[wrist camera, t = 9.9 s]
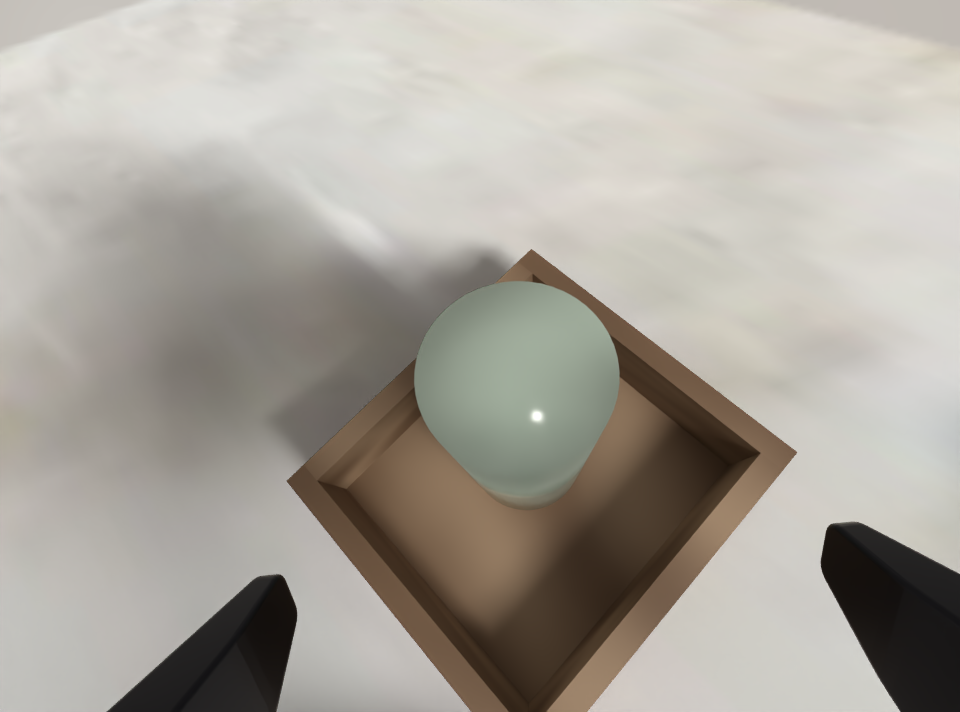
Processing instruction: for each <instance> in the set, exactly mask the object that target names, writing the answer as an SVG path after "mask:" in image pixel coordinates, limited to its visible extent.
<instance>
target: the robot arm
mask: <svg viewBox="0 0 960 712" xmlns="http://www.w3.org/2000/svg"><path fill="white" fill-rule="evenodd" d="M821 569H822V573H823V575H824V578H825V580H826V582H827V583H828V585H829V587H830V589H831V591H832V593H833V595H834V597H835V598H836V600H837V602H838V604H839V606H840V608H841V610H842V611H843V613H844V615H845V617H846V619H847V621H848V623H849V624H850V626H851V628H852V630H853V632H854V634H855V636H856V637H857V639H858V641H859V643H860V645H861V647H862V649H863V650H864V652H865V654H866V656H867V658H868V660H869V662H870V663H871V665H872V667H873V669H874V670H875V672H876V674H877V676H878V677H879V679H880V681H881V682H882V684H883V685H884V687H885V689H886V690H887V692H888V693H889V695H890V696H891V698H892V699H893V701H894V703H895V704H896V706H897V707H898V709H899V710H900V712H960V574H959V573H957V572H955V571H953V570H951V569H949V568H947V567H945V566H944V565H942V564H940V563H938V562H936V561H934V560H932V559H930V558H928V557H926V556H924V555H922V554H920V553H918V552H916V551H915V550H913V549H911V548H909V547H907V546H905V545H903V544H901V543H899V542H897V541H895V540H893V539H891V538H889V537H888V536H886V535H884V534H882V533H880V532H878V531H876V530H874V529H872V528H870V527H868V526H866V525H864V524H862V523H859V522H844V523H834V524H831V525H829V527H828V528H827V530H826V535H825V540H824V546H823V551H822V557H821ZM296 622H297V608H296V605H295V602H294V600H293V597H292V595H291V592H290V590H289V588H288V585H287V583H286V580H285V578H284V577H283V576H282V575H279V574H276V575H266V576H259V577H257V578H255V579H254V580H253V581H251V582H250V583H249V584H248V585H247V586H246V587H245V588H244V589H243V590H241V591H240V592H239V593H238V594H237V595H236V596H235V597H234V598H233V599H231V600H230V601H229V602H228V603H227V604H226V605H225V606H224V607H223V608H221V609H220V610H219V611H218V612H217V613H216V614H215V615H214V616H213V617H211V618H210V619H209V620H208V621H207V622H206V623H205V624H204V625H203V626H201V627H200V628H199V629H198V630H197V631H196V632H195V633H194V634H193V635H191V636H190V637H189V638H188V639H187V640H186V641H185V642H184V643H183V644H181V645H180V646H179V647H178V648H177V649H176V650H175V651H174V652H173V653H172V654H170V655H169V656H168V657H167V658H166V659H165V660H164V661H163V662H162V663H160V664H159V665H158V666H157V667H156V668H155V669H154V670H153V671H152V672H150V673H149V674H148V675H147V676H146V677H145V678H144V679H143V680H142V681H140V682H139V683H138V684H137V685H136V686H135V687H134V688H133V689H132V690H130V691H129V692H128V693H127V694H126V695H125V696H124V697H123V698H122V699H120V700H119V701H118V702H117V703H116V704H115V705H114V706H113V707H112V708H110V709H109V710H108V711H107V712H276V711H277V707H278V703H279V698H280V694H281V689H282V685H283V680H284V676H285V672H286V667H287V663H288V658H289V654H290V649H291V645H292V640H293V636H294V632H295V627H296Z"/></svg>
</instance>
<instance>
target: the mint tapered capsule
mask: <svg viewBox="0 0 960 712" xmlns="http://www.w3.org/2000/svg"><path fill="white" fill-rule="evenodd" d="M414 386H415V395H416V399H417V403H418V407H419V410H420V412H421V415H422V417H423V420H424V421H425V423H426V425H427V427H428V428H429V430H430V432H431V433H432V434H433V435H434V437H435V438H436V439H437V440H438V442H439V443H440V444H441V445H442V446H443V447H444V448H445V449H446V450H447V451H448V452H449V453H450V454H451V456H452V457H453V458H454V459H455V460H456V461H457V462H458V463H459V464H460V465H461V466H462V467H463V468H464V469H465V470H466V471H467V472H468V474H469V475H470V476H471V477H472V478H473V479H474V480H475V481H476V482H477V483H478V484H479V485H480V486H481V487H482V488H483V489H484V491H485V492H486V493H487V494H488V495H489V496H491V497H492V498H493V499H494V500H496V501H497V502H499V503H501V504H503V505H505V506H507V507H510V508H514V509H518V510H535V509H540V508H544V507H547V506H549V505H551V504H553V503H555V502H556V501H558V500H559V499H560V498H562V497H563V496H564V495H565V494H566V493H567V492H568V490H569V489H570V488H571V486H572V485H573V483H574V482H575V480H576V478H577V476H578V475H579V473H580V471H581V469H582V467H583V466H584V464H585V462H586V460H587V459H588V457H589V455H590V453H591V451H592V450H593V448H594V446H595V444H596V443H597V441H598V439H599V437H600V435H601V434H602V432H603V430H604V428H605V427H606V425H607V423H608V421H609V419H610V417H611V415H612V412H613V410H614V407H615V404H616V400H617V397H618V390H619V364H618V357H617V354H616V350H615V347H614V344H613V342H612V340H611V337H610V335H609V333H608V332H607V330H606V328H605V327H604V325H603V323H602V322H601V321H600V320H599V319H598V317H597V316H596V315H595V314H594V313H593V312H592V311H591V310H590V309H589V308H588V307H587V306H586V305H585V304H583V303H582V302H581V301H579V300H578V299H576V298H575V297H573V296H571V295H570V294H568V293H566V292H564V291H562V290H559V289H557V288H554V287H552V286H548V285H544V284H541V283H534V282H526V281H511V282H501V283H496V284H491V285H488V286H485V287H482V288H479V289H477V290H474V291H472V292H470V293H468V294H466V295H464V296H463V297H461V298H459V299H458V300H456V301H455V302H454V303H452V304H451V305H450V306H449V307H447V308H446V309H445V310H444V311H443V312H442V313H441V314H440V315H439V316H438V318H437V319H436V320H435V321H434V323H433V324H432V325H431V327H430V328H429V330H428V332H427V333H426V335H425V337H424V339H423V341H422V344H421V346H420V349H419V352H418V355H417V359H416V365H415V372H414Z"/></svg>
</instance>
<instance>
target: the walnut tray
mask: <svg viewBox="0 0 960 712" xmlns="http://www.w3.org/2000/svg"><path fill="white" fill-rule="evenodd" d="M511 281H526V282H534V283H541V284H544V285H548V286H552V287H554V288H557V289H559V290H562V291H564V292H566V293H568V294H570V295H571V296H573V297H575V298H576V299H578V300H579V301H581V302H582V303H583V304H585V305H586V306H587V307H588V308H589V309H590V310H591V311H592V312H593V313H594V314H595V315H596V316H597V317H598V319H599V320H600V321H601V322H602V323H603V325H604V327H605V328H606V330H607V332H608V333H609V335H610V337H611V340H612V342H613V344H614V347H615V350H616V354H617V357H618V364H619V390H618V397H617V400H616V404H615V407H614V410H613V412H612V415H611V417H610V419H609V421H608V423H607V425H606V427H605V428H604V430H603V432H602V434H601V435H600V437H599V439H598V441H597V443H596V444H595V446H594V448H593V450H592V451H591V453H590V455H589V457H588V459H587V460H586V462H585V464H584V466H583V467H582V469H581V471H580V473H579V475H578V476H577V478H576V480H575V482H574V483H573V485H572V486H571V488H570V489H569V490H568V492H567V493H566V494H565V495H564V496H563V497H562V498H560V499H559V500H558V501H556V502H555V503H553V504H551V505H549V506H547V507H544V508H540V509H535V510H518V509H514V508H510V507H507V506H505V505H503V504H501V503H499V502H497V501H496V500H494V499H493V498H492V497H491V496H489V495H488V494H487V493H486V492H485V491H484V489H483V488H482V487H481V486H480V485H479V484H478V483H477V482H476V481H475V480H474V479H473V478H472V477H471V476H470V475H469V474H468V472H467V471H466V470H465V469H464V468H463V467H462V466H461V465H460V464H459V463H458V462H457V461H456V460H455V459H454V458H453V457H452V456H451V454H450V453H449V452H448V451H447V450H446V449H445V448H444V447H443V446H442V445H441V444H440V443H439V442H438V440H437V439H436V438H435V437H434V435H433V434H432V433H431V432H430V430H429V428H428V427H427V425H426V423H425V421H424V420H423V417H422V415H421V412H420V410H419V407H418V403H417V399H416V395H415V386H414V372H415V365H416V359H417V358H416V359H415V360H414V361H413V362H412V363H411V364H410V365H408V366H407V367H406V368H405V369H404V370H403V371H402V372H401V373H400V374H399V375H398V376H397V377H396V378H395V379H394V380H393V381H392V382H391V383H389V384H388V385H387V386H386V387H385V388H384V389H383V390H382V391H381V392H380V393H379V394H378V395H377V396H376V397H375V398H374V399H373V400H372V401H370V402H369V403H368V404H367V405H366V406H365V407H364V408H363V409H362V410H361V411H360V412H359V413H358V414H357V415H356V416H355V417H354V418H353V419H351V420H350V421H349V422H348V423H347V424H346V425H345V426H344V427H343V428H342V429H341V430H340V431H339V432H338V433H337V434H336V435H335V436H334V437H332V438H331V439H330V440H329V441H328V442H327V443H326V444H325V445H324V446H323V447H322V448H321V449H320V450H319V451H318V452H317V453H316V454H315V455H313V456H312V457H311V458H310V459H309V460H308V461H307V462H306V463H305V464H304V465H303V466H302V467H301V468H300V469H299V470H298V471H297V472H296V473H294V474H293V475H292V476H291V477H290V478H289V479H288V480H287V482H288V484H289V485H290V486H291V487H292V489H293V490H294V491H295V492H296V494H297V495H298V496H299V497H300V498H301V500H302V501H303V502H304V503H305V505H306V506H307V507H308V508H309V510H310V511H311V512H312V513H313V515H314V516H315V517H316V518H317V520H318V521H319V522H320V523H321V525H322V526H323V527H324V528H325V530H326V531H327V532H328V533H329V535H330V536H331V537H332V538H333V540H334V541H335V542H336V543H337V545H338V546H339V547H340V548H341V550H342V551H343V552H344V553H345V555H346V556H347V557H348V558H349V560H350V561H351V562H352V563H353V565H354V566H355V567H356V568H357V570H358V571H359V572H360V573H361V575H362V576H363V577H364V578H365V580H366V581H367V582H368V583H369V585H370V586H371V587H372V588H373V590H374V591H375V592H376V593H377V595H378V596H379V597H380V598H381V599H382V601H383V602H384V603H385V604H386V606H387V607H388V608H389V609H390V611H391V612H392V613H393V614H394V616H395V617H396V618H397V619H398V621H399V622H400V623H401V624H402V626H403V627H404V628H405V629H406V631H407V632H408V633H409V634H410V636H411V637H412V638H413V639H414V641H415V642H416V643H417V644H418V646H419V647H420V648H421V649H422V651H423V652H424V653H425V654H426V656H427V657H428V658H429V659H430V661H431V662H432V663H433V664H434V666H435V667H436V668H437V669H438V671H439V672H440V673H441V674H442V676H443V677H444V678H445V679H446V681H447V682H448V683H449V684H450V686H451V687H452V688H453V689H454V691H455V692H456V693H457V694H458V696H459V697H460V698H461V699H462V701H463V702H464V703H465V704H466V705H467V707H468V708H469V709H470V710H471V712H587V711H588V710H589V709H590V708H591V706H592V705H593V704H594V703H595V701H596V700H597V699H598V698H599V696H600V695H601V694H602V693H603V692H604V690H605V689H606V688H607V687H608V685H609V684H610V683H611V682H612V680H613V679H614V678H615V677H616V675H617V674H618V673H619V672H620V671H621V669H622V668H623V667H624V666H625V664H626V663H627V662H628V661H629V659H630V658H631V657H632V656H633V655H634V653H635V652H636V651H637V650H638V648H639V647H640V646H641V645H642V643H643V642H644V641H645V640H646V638H647V637H648V636H649V635H650V634H651V632H652V631H653V630H654V629H655V627H656V626H657V625H658V624H659V622H660V621H661V620H662V619H663V618H664V616H665V615H666V614H667V613H668V611H669V610H670V609H671V608H672V606H673V605H674V604H675V603H676V601H677V600H678V599H679V598H680V597H681V595H682V594H683V593H684V592H685V590H686V589H687V588H688V587H689V585H690V584H691V583H692V582H693V581H694V579H695V578H696V577H697V576H698V574H699V573H700V572H701V571H702V569H703V568H704V567H705V566H706V564H707V563H708V562H709V561H710V560H711V558H712V557H713V556H714V555H715V553H716V552H717V551H718V550H719V548H720V547H721V546H722V545H723V544H724V542H725V541H726V540H727V539H728V537H729V536H730V535H731V534H732V532H733V531H734V530H735V529H736V527H737V526H738V525H739V524H740V523H741V521H742V520H743V519H744V518H745V516H746V515H747V514H748V513H749V511H750V510H751V509H752V508H753V507H754V505H755V504H756V503H757V502H758V500H759V499H760V498H761V497H762V495H763V494H764V493H765V492H766V490H767V489H768V488H769V487H770V486H771V484H772V483H773V482H774V481H775V479H776V478H777V477H778V476H779V474H780V473H781V472H782V471H783V470H784V468H785V467H786V466H787V465H788V463H789V462H790V461H791V460H792V458H793V457H794V456H795V455H796V453H797V452H796V451H795V450H794V449H792V448H791V447H790V446H788V445H787V444H786V443H784V442H783V441H782V440H780V439H779V438H778V437H777V436H775V435H774V434H773V433H771V432H770V431H769V430H767V429H766V428H765V427H763V426H762V425H761V424H760V423H758V422H757V421H756V420H754V419H753V418H752V417H750V416H749V415H748V414H746V413H745V412H744V411H743V410H741V409H740V408H739V407H737V406H736V405H735V404H733V403H732V402H731V401H729V400H728V399H727V398H726V397H724V396H723V395H722V394H720V393H719V392H718V391H716V390H715V389H714V388H712V387H711V386H710V385H709V384H707V383H706V382H705V381H703V380H702V379H701V378H699V377H698V376H697V375H695V374H694V373H693V372H692V371H690V370H689V369H688V368H686V367H685V366H684V365H682V364H681V363H680V362H678V361H677V360H676V359H675V358H673V357H672V356H671V355H669V354H668V353H667V352H665V351H664V350H663V349H661V348H660V347H659V346H658V345H656V344H655V343H654V342H652V341H651V340H650V339H648V338H647V337H646V336H644V335H643V334H642V333H641V332H639V331H638V330H637V329H635V328H634V327H633V326H631V325H630V324H629V323H627V322H626V321H625V320H624V319H622V318H621V317H620V316H618V315H617V314H616V313H614V312H613V311H612V310H610V309H609V308H608V307H607V306H605V305H604V304H603V303H601V302H600V301H599V300H597V299H596V298H595V297H593V296H592V295H591V294H590V293H588V292H587V291H586V290H584V289H583V288H582V287H580V286H579V285H578V284H576V283H575V282H574V281H573V280H571V279H570V278H569V277H567V276H566V275H565V274H563V273H562V272H561V271H559V270H558V269H557V268H556V267H554V266H553V265H552V264H550V263H549V262H548V261H546V260H545V259H544V258H542V257H541V256H540V255H539V254H537V253H536V252H535V251H533V250H532V249H531V250H530V251H529V252H528V253H527V254H526V255H525V256H524V257H523V258H521V259H520V260H519V261H518V262H517V263H516V264H515V265H514V266H513V267H512V268H511V269H510V270H509V271H508V272H507V273H506V274H505V275H504V276H502V277H501V278H500V279H499V280H498V281H497V282H496V283H501V282H511ZM496 283H495V284H496Z"/></svg>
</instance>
